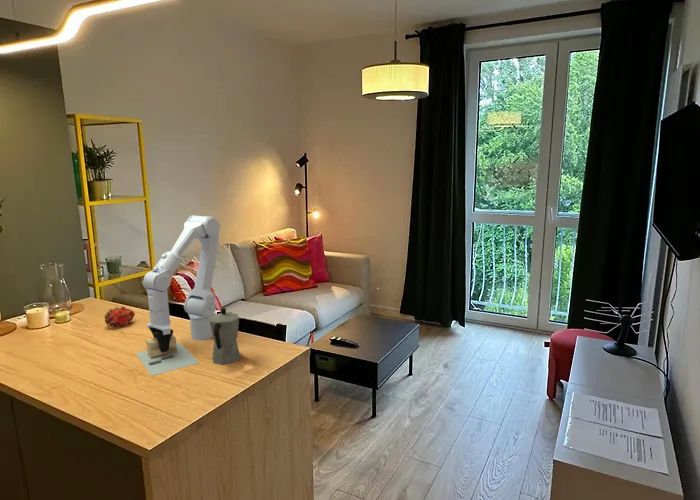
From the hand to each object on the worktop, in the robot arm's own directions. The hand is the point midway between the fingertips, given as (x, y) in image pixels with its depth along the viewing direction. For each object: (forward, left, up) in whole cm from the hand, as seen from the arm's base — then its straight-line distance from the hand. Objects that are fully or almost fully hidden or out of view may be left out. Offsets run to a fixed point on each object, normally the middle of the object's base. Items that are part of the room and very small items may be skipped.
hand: (162, 349), depth 146 cm
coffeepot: (-14, +17, -3) cm, 22 cm away
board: (0, +4, -3) cm, 5 cm away
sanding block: (0, 0, -1) cm, 1 cm away
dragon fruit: (+5, -41, -3) cm, 41 cm away
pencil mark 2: (0, +5, -1) cm, 5 cm away
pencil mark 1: (+4, +6, -1) cm, 8 cm away
